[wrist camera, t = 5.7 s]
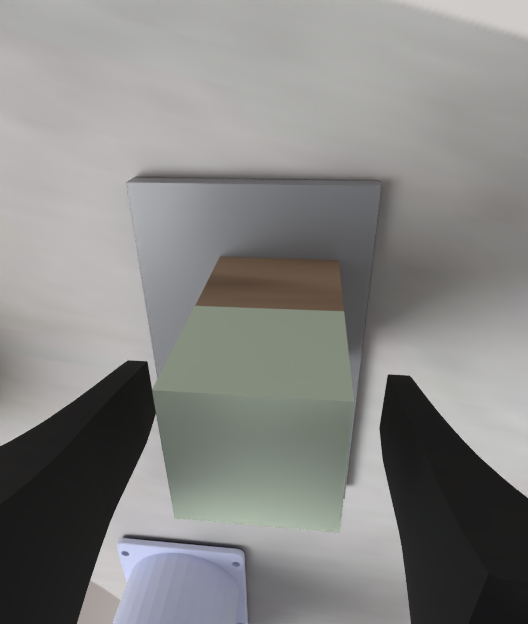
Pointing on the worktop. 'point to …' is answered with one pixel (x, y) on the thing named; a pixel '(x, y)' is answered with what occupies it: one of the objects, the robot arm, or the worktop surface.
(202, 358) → the green block
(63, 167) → the worktop surface
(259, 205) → the baseplate
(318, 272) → the walnut block
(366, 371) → the worktop surface
